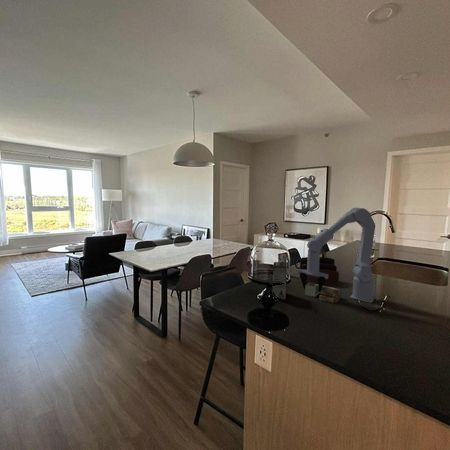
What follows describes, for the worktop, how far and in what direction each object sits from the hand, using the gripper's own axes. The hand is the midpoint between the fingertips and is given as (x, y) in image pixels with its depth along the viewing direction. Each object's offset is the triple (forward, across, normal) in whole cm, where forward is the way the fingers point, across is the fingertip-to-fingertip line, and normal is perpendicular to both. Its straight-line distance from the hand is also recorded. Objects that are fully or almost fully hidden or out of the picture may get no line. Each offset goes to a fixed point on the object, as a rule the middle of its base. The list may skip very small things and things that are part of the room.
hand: (312, 289), depth 128 cm
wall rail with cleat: (+2, +6, 0) cm, 6 cm away
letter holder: (+3, -4, +22) cm, 23 cm away
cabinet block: (+2, 0, 0) cm, 3 cm away
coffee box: (+3, -12, -12) cm, 17 cm away
